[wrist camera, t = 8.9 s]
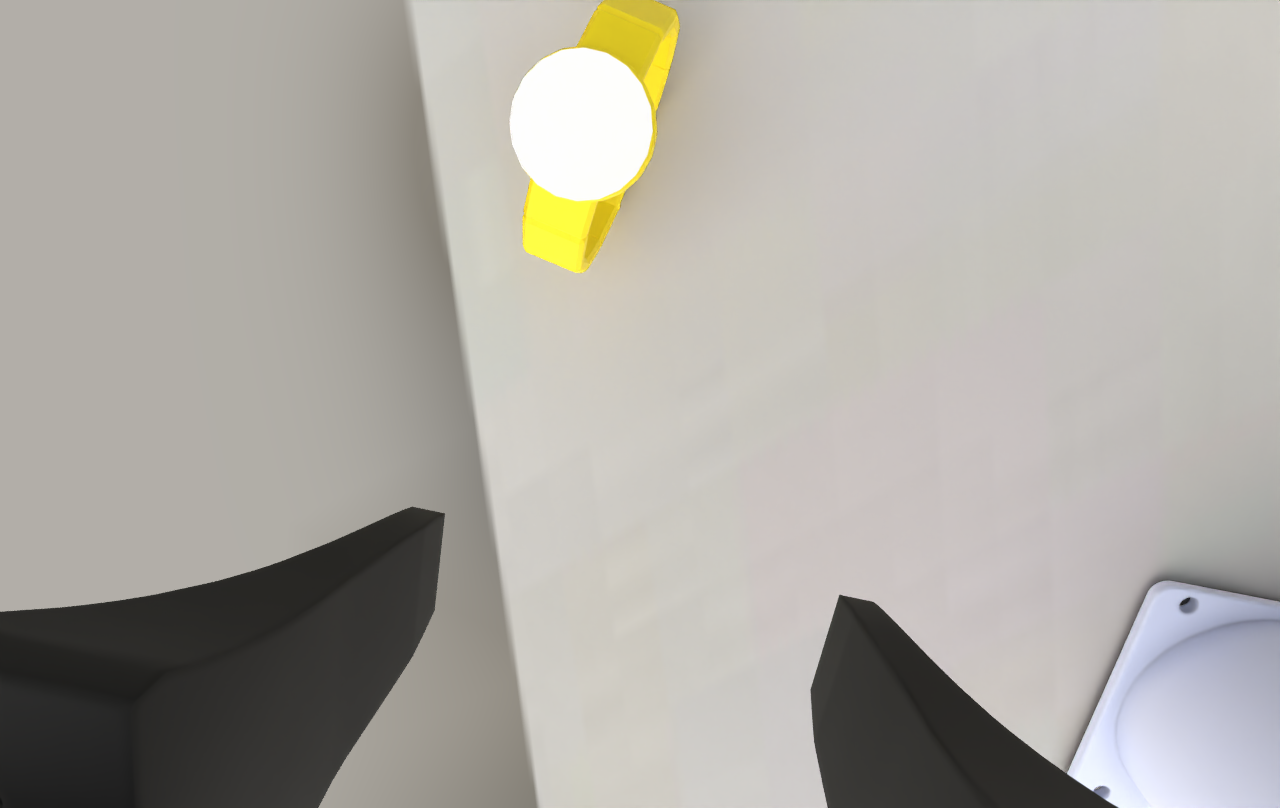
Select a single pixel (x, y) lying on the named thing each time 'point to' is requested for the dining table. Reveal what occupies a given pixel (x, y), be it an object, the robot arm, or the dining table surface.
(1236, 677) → the robot arm
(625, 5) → the watch
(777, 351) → the dining table surface
